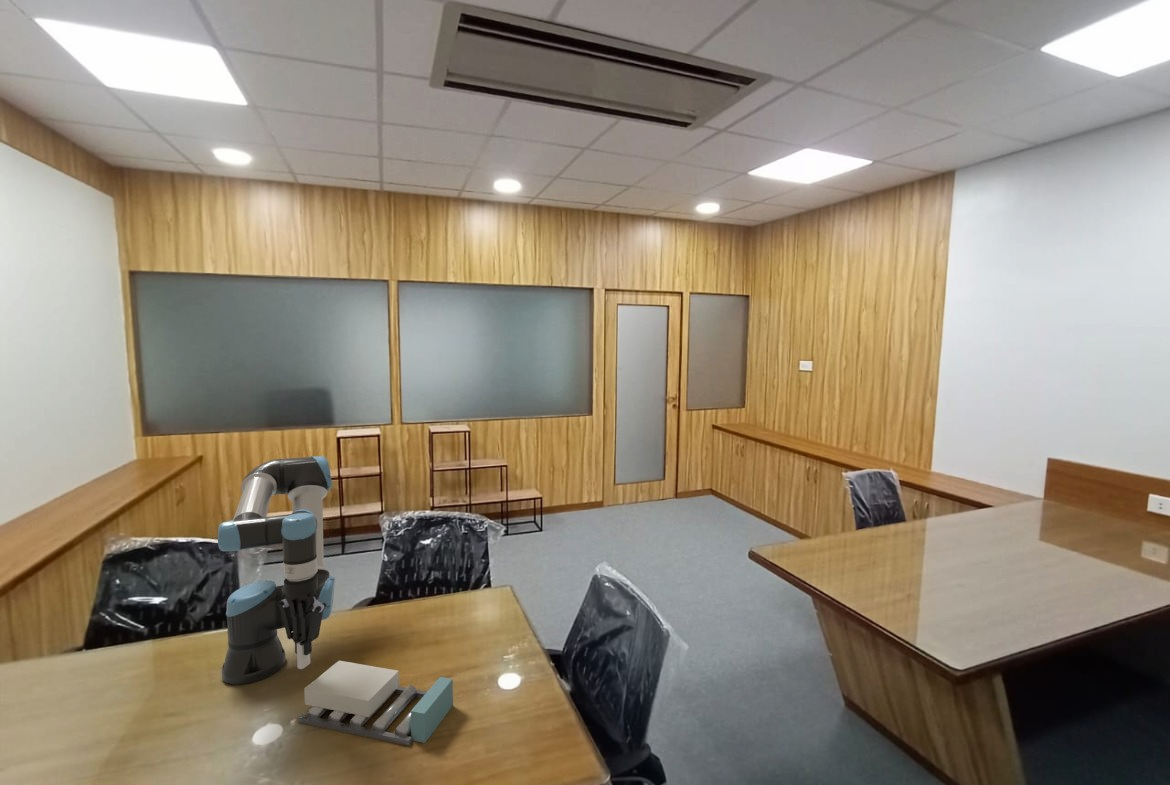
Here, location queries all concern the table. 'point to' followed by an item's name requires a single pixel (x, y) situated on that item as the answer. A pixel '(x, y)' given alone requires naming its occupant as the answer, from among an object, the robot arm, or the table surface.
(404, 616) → the table surface
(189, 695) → the table surface
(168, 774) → the table surface
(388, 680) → the slab
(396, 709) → the roller bed
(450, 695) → the stop block
